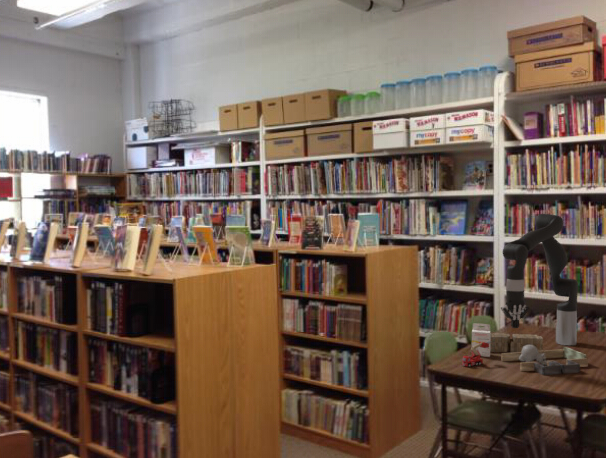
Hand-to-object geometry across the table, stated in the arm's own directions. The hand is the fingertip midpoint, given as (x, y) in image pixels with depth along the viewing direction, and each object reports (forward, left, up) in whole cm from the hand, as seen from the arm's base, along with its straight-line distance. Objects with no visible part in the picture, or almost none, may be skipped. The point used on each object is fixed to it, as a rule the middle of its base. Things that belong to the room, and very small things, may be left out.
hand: (515, 327), depth 262 cm
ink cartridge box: (-20, -6, -17) cm, 27 cm away
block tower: (-25, +12, -18) cm, 32 cm away
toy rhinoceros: (0, +9, -17) cm, 20 cm away
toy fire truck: (-6, -16, -17) cm, 24 cm away
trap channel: (+4, +14, -17) cm, 22 cm away
